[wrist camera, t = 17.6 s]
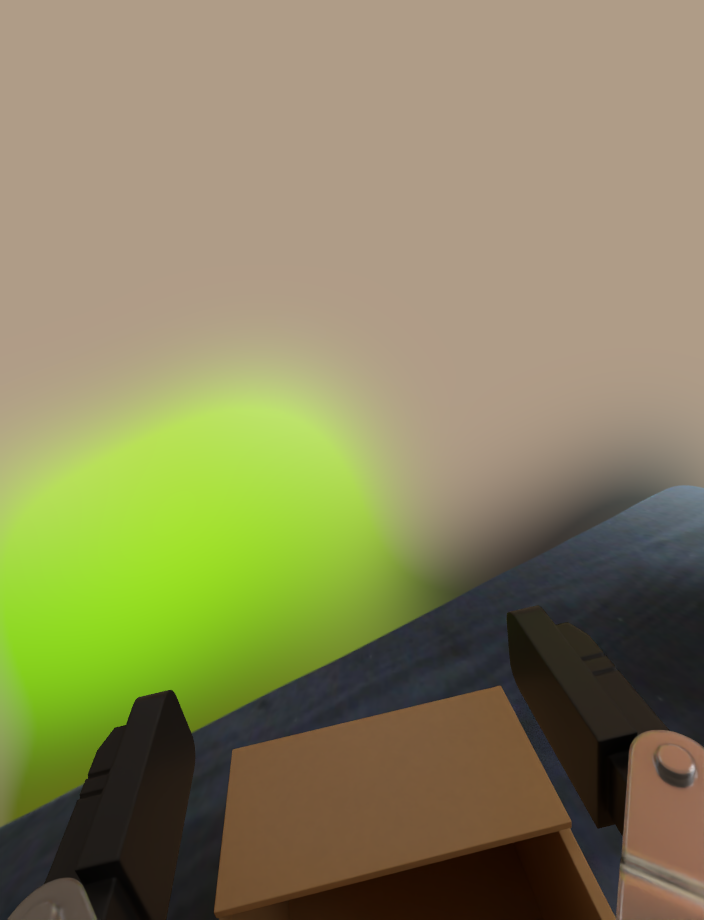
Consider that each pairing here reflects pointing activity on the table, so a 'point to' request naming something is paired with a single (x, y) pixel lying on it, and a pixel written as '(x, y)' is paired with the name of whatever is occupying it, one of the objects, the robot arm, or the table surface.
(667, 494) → the table surface
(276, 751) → the carton
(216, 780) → the table surface
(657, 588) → the table surface
